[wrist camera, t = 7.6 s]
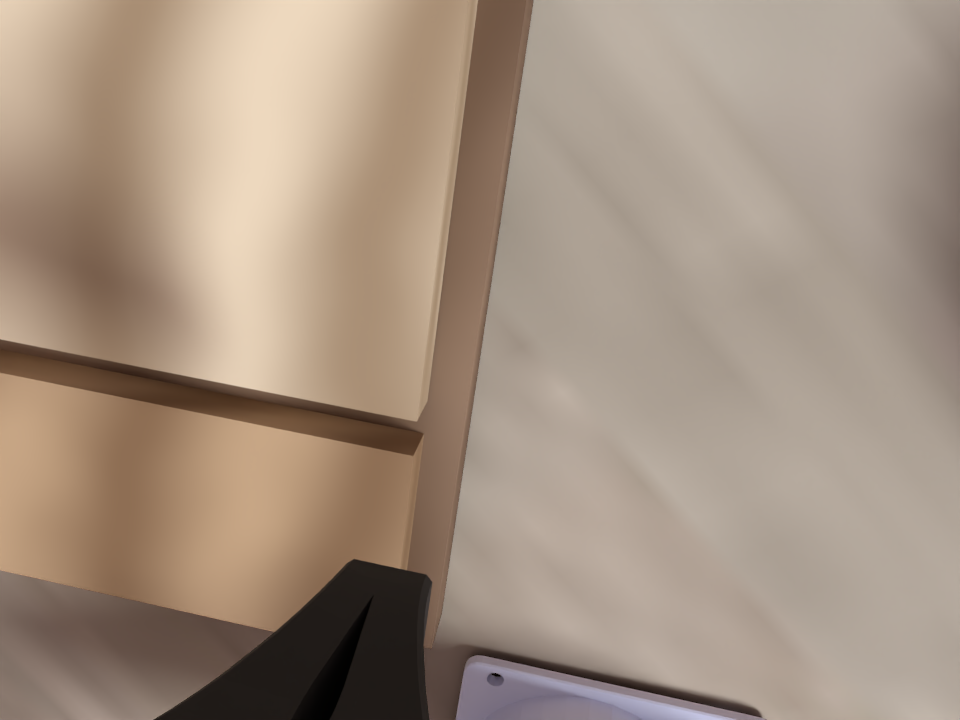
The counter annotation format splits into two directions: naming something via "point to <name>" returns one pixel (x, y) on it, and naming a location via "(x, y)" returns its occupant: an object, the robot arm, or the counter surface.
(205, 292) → the oak plank
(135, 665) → the counter surface
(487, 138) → the board
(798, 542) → the counter surface
